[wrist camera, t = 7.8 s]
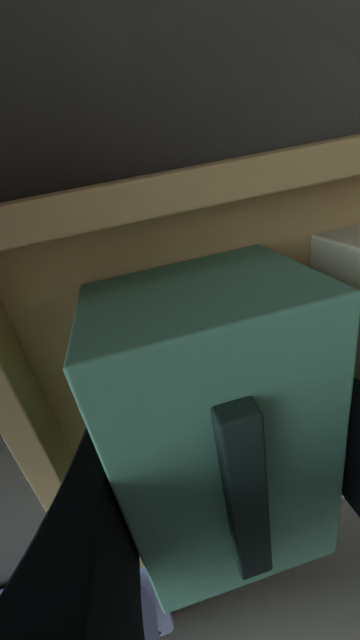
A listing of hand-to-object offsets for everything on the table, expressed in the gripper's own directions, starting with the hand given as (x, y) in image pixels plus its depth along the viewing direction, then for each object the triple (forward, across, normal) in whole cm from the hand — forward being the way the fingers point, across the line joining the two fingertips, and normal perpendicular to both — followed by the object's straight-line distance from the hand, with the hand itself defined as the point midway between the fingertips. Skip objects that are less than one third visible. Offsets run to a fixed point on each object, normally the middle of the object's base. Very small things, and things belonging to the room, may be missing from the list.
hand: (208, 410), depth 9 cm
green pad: (+1, 0, 0) cm, 1 cm away
